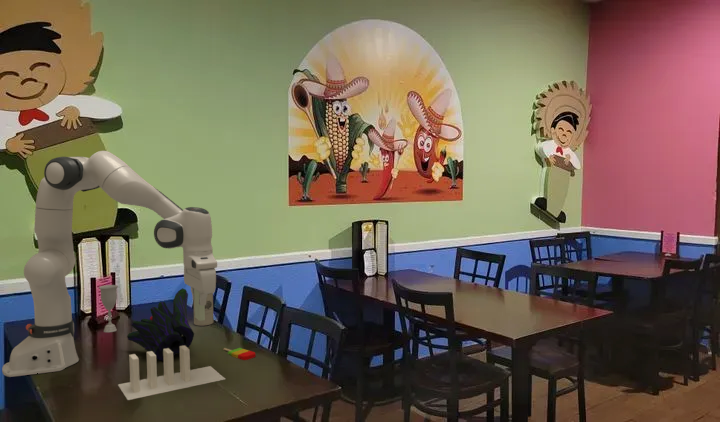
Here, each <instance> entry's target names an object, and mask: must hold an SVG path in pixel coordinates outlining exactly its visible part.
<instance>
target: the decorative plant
mask: <svg viewBox="0 0 720 422" xmlns="http://www.w3.org/2000/svg"><path fill="white" fill-rule="evenodd" d="M188 299H189V293H188V291H187V289H185V288H181V289H180V290H178V291H177V292H176V293H175V295H174V297H173V301H172V302H173V303H172V306H173V307H172V308H173V309H172V312H173V313H172V312H171V310H170V309H169V308H168V305H167V304H166V302H165V301H160V302H158V305H157V307H156V306H152V307H151V308H150V313H151V316H150V317H149V319H148V318H141V320H139V321H138V320H134V321H132V323H131V326H132V328H134V329H135V331H134V330H133V331H132V332H128V334H127V336H126V338H127V340H128V341H131V342H134V343H135V344H136V345H139V346H141V347H142V348H144V350H146V351H147V352H149V351H152V352H153V353H154V354H155V355H156V360H159V361H162V362H164V356H163V349H166V348H169V349H170V350H171V351H172V352H173V356H175V355H176V354H179V355H180V346H184V345H185V346H186V347H187V348H188V349H189V348H190V346H191V345H192V343H193V340H194V335H195V333H194V330H193V329H192V327H191V326H190V323H189V320H188V309H187V307H188Z"/></svg>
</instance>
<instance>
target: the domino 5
mask: <svg viewBox="0 0 720 422" xmlns="http://www.w3.org/2000/svg"><path fill="white" fill-rule="evenodd" d="M199 299H200V293H199V291H197V290H195V289H194V304H193V306H194V305H195V318H196V319H198V320H199V321H203V320H205V305H203V306H201V305H200V304H199Z"/></svg>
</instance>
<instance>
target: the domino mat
mask: <svg viewBox="0 0 720 422" xmlns="http://www.w3.org/2000/svg"><path fill="white" fill-rule="evenodd" d="M225 380H226V378H225V377H224V376H223V375H221V374H220V373H219V372H218V371H217V370H216V369H214V368H213V367H212V366H211V365H210V366H209V365H207V366H205V367H204V366H203V367H199V368H194V369H190V381H188V382H185V381H184V380H183V379H182V378H181V377H180V372H174V385H168V384H167V383H166V382H165V381H164V374H163V375H159V376H158V375H157V388H155V389H151V388H150V386H149V385H148V382H147V378H143V379H139V381H140V392H136V393H134V392H133V390H132V389H131V388H130V381H129V382H124V383H119V384H117V386H118V387H119V389H120V390H121V392H122V393H123V396H124V397H125V399H126V400H127V401H131V400H135V399H140V398H145V397H149V396H154V395H159V394H163V393H168V392H169V393H170V392H172V391H177V390H182V389H187V388H192V387H195V386H201V385H205V384H209V383H210V384H211V383H215V382H219V381H225Z"/></svg>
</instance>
